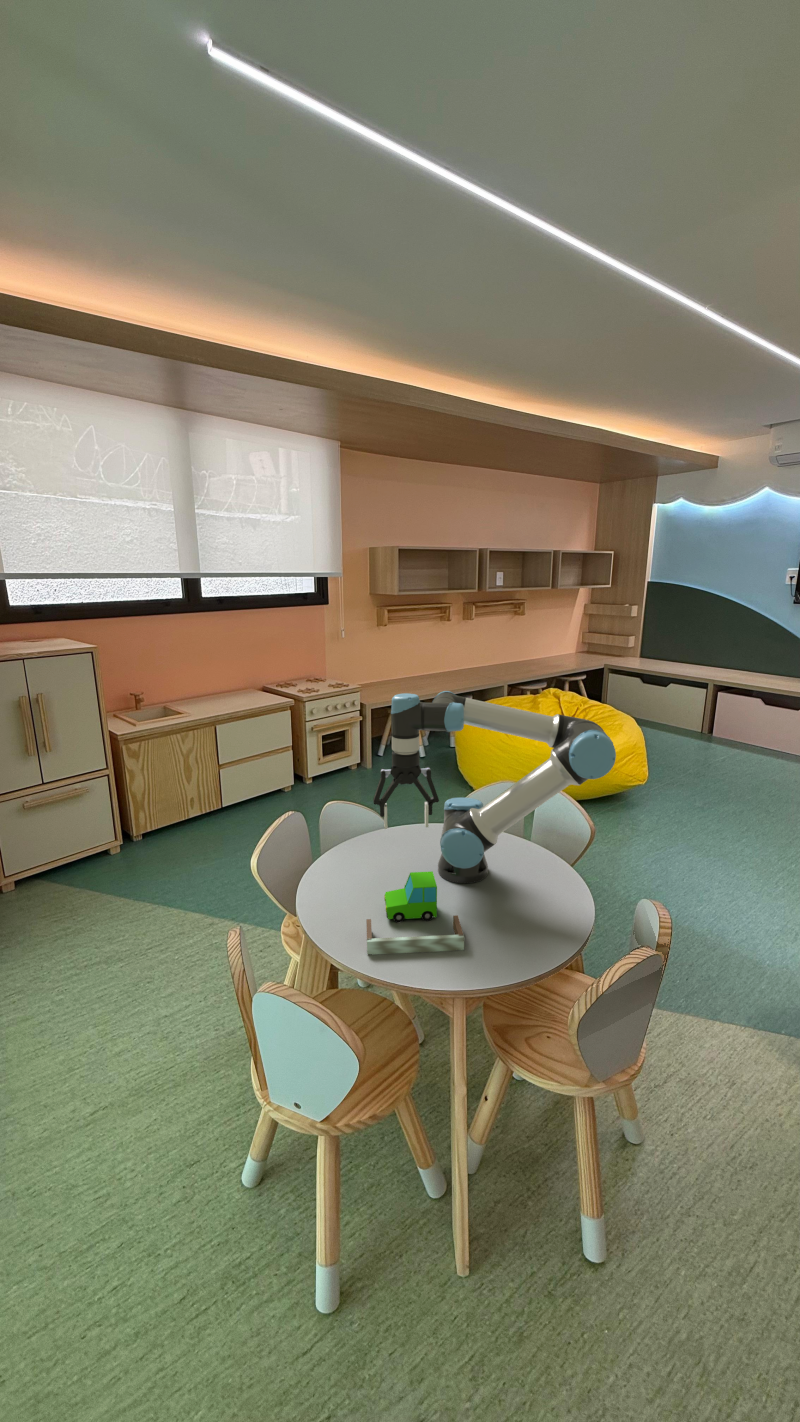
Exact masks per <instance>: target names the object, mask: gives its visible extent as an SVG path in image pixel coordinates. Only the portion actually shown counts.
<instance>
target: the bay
mask: <svg viewBox="0 0 800 1422" xmlns="http://www.w3.org/2000/svg"><path fill="white" fill-rule="evenodd" d="M452 928H453V929H452V930H453V933H454V934H445V935H444V934H443V935H425V936H424V935H420V936H401V937H400V936H399V937H397V936H396V937H379V938H378V937H377V938H376V937H375V938H373V936H372V935H373V933H372V919H371V918H370V919H368V918H367V919H366V955H367V954H372V955H388V954H390V955H391V954H409V953H411V954H412V953H413V954H414V953H430V952H431V953H433V952H436V953H437V952H451V951H454V952H456V951H464V950H465V935H464V932H463V927H462V925H461V921H460V918H459V915H457V914H456V915H453V916H452Z"/></svg>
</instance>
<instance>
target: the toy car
mask: <svg viewBox="0 0 800 1422" xmlns="http://www.w3.org/2000/svg"><path fill="white" fill-rule="evenodd" d="M434 874H435V873H434V871H431V870H430V871H415V872H414V871H413V872H409V875H408V877H407V879H406V883H405V884H404V888H399V889H393V890H389V891H385V893H384V897H383V898H384V902H385V904H384V905H385V912H386V913H385V914H386V918H387V920H393V921H394V923H403V922H404V920H405V919H407V920H408V919H422V920H423V921H425V922H429V921H431V920H432V919H433V918H437V917H438V908H437V907H438V901H437V900H438V886H437V882H436V879H435V875H434Z"/></svg>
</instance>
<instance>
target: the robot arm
mask: <svg viewBox="0 0 800 1422" xmlns="http://www.w3.org/2000/svg"><path fill="white" fill-rule="evenodd" d="M390 718H391V719H390V721H391V722H390V724H391V751H392V752H391V768H390V769H385V768H381V769H380V778H379V781H378V784H377V788H376V790H375V792H374V793H375V794H374V795H373V800H372V801H373V802H372V803H373V804H374V805H377V806H379V816H380V817H381V818H383V825H384V826H383V827H384V830H388V805H387V802H388V800H389V799H390V797H391V796H392V794H393V793H394V791H395V790H396V788H397V787H398V786H399V784H400V785H406V784H407V785H412V784H414V785H415V787H416V788H417V789H418V791H419V792H420V793H421V795H422V796H423V798H424V800H425V801H424V826H425V828H429V816H432V815H433V804H435V803H439V802H440V798H439V797H438V793H437V790H436V788H435V785H434V781H433V780H432V770H431V768H430V767H429V766H426V767H425V768H424V767H423V768H421V766H420V751H419V750H420V731H431V732H433V731H435V732H448V733H449V732H450V733H451V732H461V731H462V730H463V729H464V726H465V725H468V726H472V727H477V728H480V729H485V730H490V731H493V732H497V733H498V732H499V733H501V734H506V735H511V736H516V737H521V738H524V739H530V740H534V741H536V742H537V741H538V742H543V743H546V744H547V745H548V747H549V748H552V749H551V751H550V756H549V758H548V759H547V760H546V761H544V762H543V763H541V764H540V765H538V766H537V767H536V768H534V769H533V770H532V771H530V772H529V773H528V774H526V775H525V776H523V777H522V778H521V779H519V780H517V782H515V783H514V784H512V785H511V786H510V787H507V789H505V790H504V791H503V792H501V793H500V794H499V795H497V796H495V797H494V798H493V799H491V800H490V801H489V802H487V803H486V804H485V805H484V803H483V802H482V801H481V800H479V799H476V798H471V797H451V798H449V799H447V800H446V801H445V802H444V807H443V810H444V812H443V813H444V814H443V815H444V816H443V818H444V819H443V826H442V831H441V836H440V837H441V838H440V841H439V845H440V852H441V855H440V857H439V860H438V863H437V872H438V874H439V876H440V877H441V878H443V879H444V880H447V881H449V882H452V883H457V884H473V883H477V882H480V881H483V880H484V879H486V877H487V876H488V873H489V865H488V862H487V859H486V856H485V852H486V851H488V850H489V849H491V848H493V846H495V845H496V844H497V843H498V839H499V836H500V835H501V834H502V833H503V832H505V831H506V830H508V829H509V828H510V827H513V826H514V825H515V824H516V823H518V822H520V820H522V819H524V818H525V817H526V816H528V815H529V814H531V813H532V812H533V811H535V810H536V809H537V808H539V807H540V806H542V805H543V804H545V803H547V802H548V801H549V800H550V799H552V798H553V797H554V796H556V795H557V794H559V793H560V792H562V791H563V790H565V789H566V788H567V787H569V786H572V785H573V786H581V785H582V784H583V783H585V782H587V781H588V780H597V779H600V778H602V777H604V776H606V775H607V774H608V773H610V771H611V770H612V769H613V767H614V766H615V763H616V759H617V753H616V748H615V746H614V742H613V741H612V739H611V737H610V736H608V734H607V733H606V732H605V730H604V729H603V728H602V726H600V725H599V724H598V723H597V722H594V721H592V720H589V719H586V718H579V717H575V716H574V717H573V716H570V715H569V716H568V715H565V714H564V715H563V714H558V713H557V714H554V715H553V716H552V715H546V714H542V713H537V712H532V711H528V710H523V709H518V708H516V707H511V706H505V705H500V704H496V703H491V702H487V701H482V700H478V699H473V698H470V697H469V698H468V697H464V696H460V695H457V694H455V693H454V692H452V691H449V690H444V691H441V692H439V693H437V695H436V696H435V697H433V700H432V702H423V701H421V700H420V697H419V695H418V694H416V693H409V692H408V693H407V692H405V693H397V694H395V695H394V696H392V698H391V711H390ZM421 774H423V776H424V777H425V778H426V781H427V784H428V787H429V790H430V791H431V794H432V796H430V794H429V793H428V792H427V791H426V789H425V788H424V786H423V784H422V783H421V782H420V780H419V779H418V778H419V777H420V775H421ZM389 776H392V780H391V782H390V784H389V786H388V787H387V789H386V790H385V792H384V794H383V795H382V796H381V794H382V792H383V789H384V785H385V783H386V779H387V778H388V777H389Z"/></svg>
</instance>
